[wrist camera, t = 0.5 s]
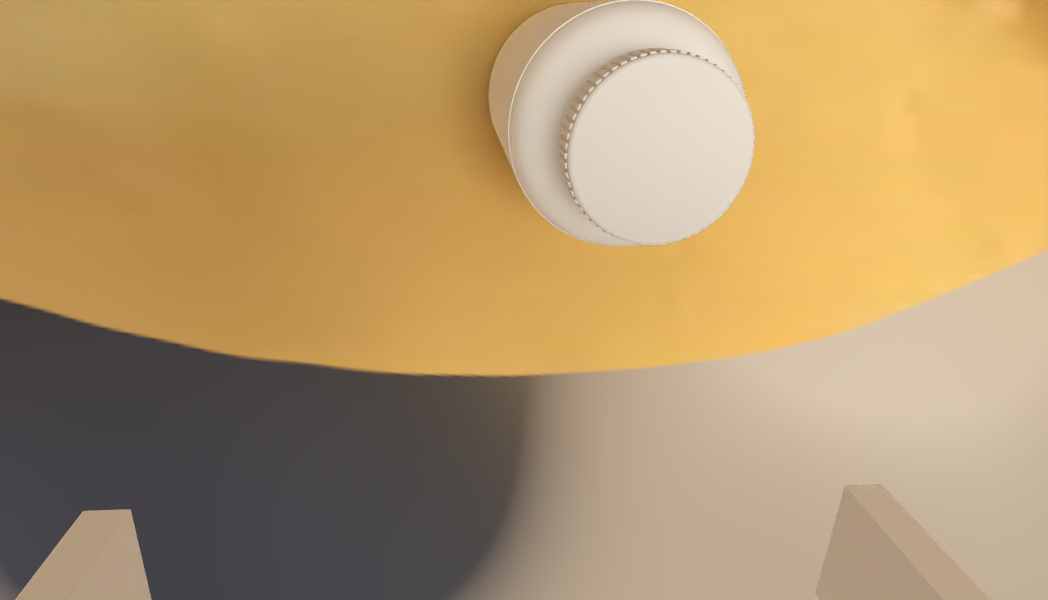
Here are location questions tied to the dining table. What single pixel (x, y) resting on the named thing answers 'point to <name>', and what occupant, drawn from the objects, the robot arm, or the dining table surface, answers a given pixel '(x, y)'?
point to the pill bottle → (622, 120)
